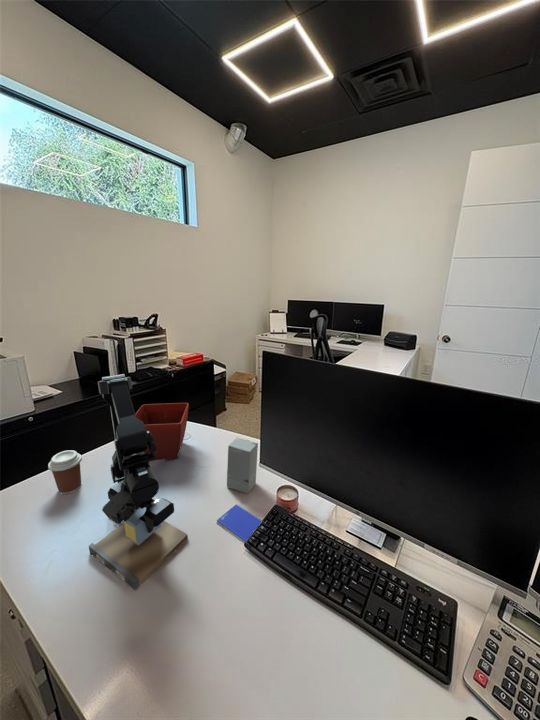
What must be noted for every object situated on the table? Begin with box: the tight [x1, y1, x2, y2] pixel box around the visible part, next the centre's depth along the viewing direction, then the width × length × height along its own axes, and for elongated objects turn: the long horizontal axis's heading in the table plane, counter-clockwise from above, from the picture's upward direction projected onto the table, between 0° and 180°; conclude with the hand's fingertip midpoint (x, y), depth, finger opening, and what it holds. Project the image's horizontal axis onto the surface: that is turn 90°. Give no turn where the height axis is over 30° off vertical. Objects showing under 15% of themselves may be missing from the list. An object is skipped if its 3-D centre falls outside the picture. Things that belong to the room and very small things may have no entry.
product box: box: [123, 507, 161, 545], centre depth 77 cm, size 7×5×6 cm
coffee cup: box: [47, 449, 83, 495], centre depth 97 cm, size 9×9×12 cm
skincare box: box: [226, 437, 259, 494], centre depth 99 cm, size 8×7×16 cm
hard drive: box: [216, 504, 263, 543], centre depth 85 cm, size 2×8×12 cm
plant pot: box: [135, 402, 190, 461], centre depth 118 cm, size 19×19×17 cm
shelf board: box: [88, 520, 189, 591], centre depth 77 cm, size 18×16×2 cm
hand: (143, 527), depth 78 cm, fingers closed on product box, 5 cm apart
